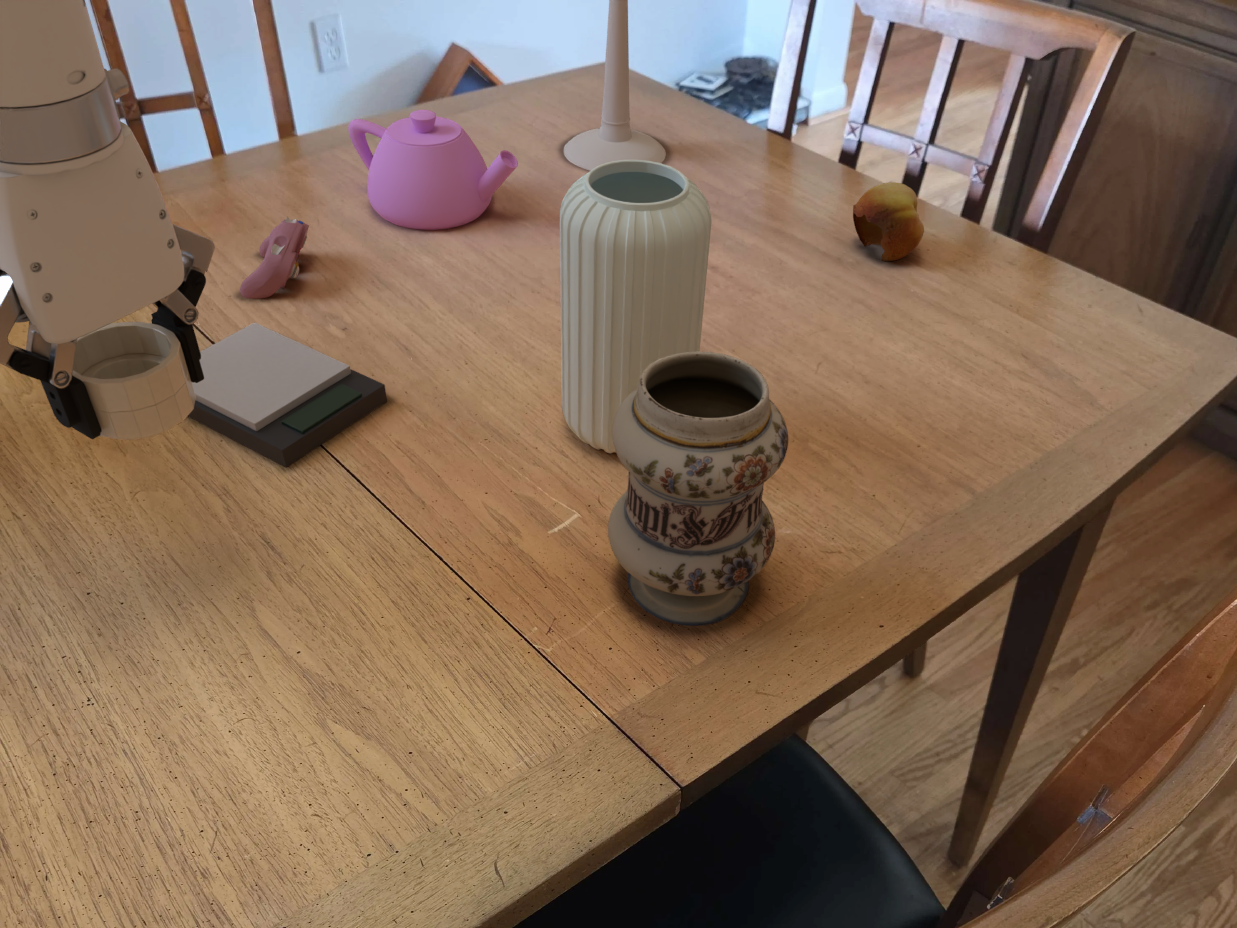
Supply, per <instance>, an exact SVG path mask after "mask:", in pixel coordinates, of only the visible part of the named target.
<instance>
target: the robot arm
mask: <svg viewBox="0 0 1237 928" xmlns="http://www.w3.org/2000/svg"><path fill="white" fill-rule="evenodd" d="M86 3H87V2H86V0H0V365H2V366H4V367H6V368H7V369H8V368H9V369H10V370H13V371H15V372H16V373H18V374H21V375H24V376H27V377H29V378H32V379H35V380H38V381H40V383H41V386H42V388H43V391H44V393H45V397H46V399H47V401H48V404H49V407H50V408H51V411H52V414H53V416H54V417H55V419H56V420H57V421H58V422H59V424H60V425H62V426H63V427H66V428H68V429H71V428H72V429H73V430H75V431H77V432H79V433H80V434H82V435H84V436H85V437H87V438H89V439H90V440H95V439H97V438H98V437H101V436H100V433H101V432H102V430H101V427H100V424H99V422H98V419H97V416H96V413H95V411H94V408H93V405H92V403H91V400H90V397H89V394H88V392H87V389H86V386H85V384H84V383H83V382H82V381H81V380H80V379H78V378H76V377H74V376H73V375H72V373H73V366H74V359H75V352H76V344H77V339H78V338H80V337H82V336H85V335H87V334H89V333H91V332H93V331H95V330H98V329H100V328H102V327H104V326H106V325H108V324H111V323H116V322H117V321H118V320H121V319H123V318H126V317H128V316H130V315H131V314H134V313H136V312H138V311H140V310H142V309H145V308H146V307H148V306H150V305H152V306H153V307H155V308H156V311H154V312H153V313H150V316H151V319H150V321H151V324H157V325H160V326H162V327H164V328H166V329H168V330H170V331H172V332H173V333H174V334H175V335H176V337H177V339H178V340H179V342H180V344H181V347H182V351H183V354H184V358H185V361H186V365H187V368H188V372H189V375H190V379H191V382H195V383H198V382H200V381H202V380H204V375H203V371H202V367H201V364H200V359H201V354H200V351H201V350H200V347H199V343H198V338H197V336H196V332H195V328H194V325H193V324H195V323H196V322H197V320H198V318H199V310H198V309H197V305H198V303H199V301H200V298H201V296H202V293H203V292H204V289H205V286H206V283H207V278H206V276H205V274H206V273H208V270H209V267H210V264H211V261H212V258H213V255H214V252H215V249H216V246H215V243H214V241H213V240H212V239H209V238H207V237H205V236H203V235H201V234H198V233H196V232H193V231H191V230H189V229H186V228H184V227H181V226H179V225H176V224H174V223H173V221H172V218H171V215H170V213H169V210H168V207H167V204H166V201H165V199H164V196H163V194H162V191H161V188H160V185H159V184H158V181H157V179H156V176H155V175H154V172H153V170H152V168H151V165H150V164H149V163H150V162H149V161H148V159H147V157H146V155H145V153H144V151H143V149H142V147H141V145H140V143H139V141H138V140H137V138H136V136H135V134H134V132H133V131H132V129H131V127H130V126H129V125H128V124H127V123H124V122H122V121H121V120H120V119H121V115H120V111H119V107H118V104H117V101H118V100H119V99H120V97H122V96H125V95H127V94H129V93H130V84H129V81H128V79H127V77H126V75H125V74H124V73H123V71H122V70H120V69H119V68H112V69H109V70H107V68H105V65H104V63H103V59H102V57H101V53H100V49H99V45H98V42H97V39H96V35H95V32H94V28H93V24H92V20H91V17H90V15H89V10H88V7H87V4H86ZM27 322H28V328H27V329H28V330H27V335H26V336H27V338H26V343H25V344H26V345H25V348H22V347H19V346H16V345H14V344H11V343H10V342H9V335H10V333H11V331H12V329H13V327H14V326H15V324H18V323H19V324H21V323H27Z"/></svg>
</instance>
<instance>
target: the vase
mask: <svg viewBox="0 0 1237 928" xmlns="http://www.w3.org/2000/svg"><path fill="white" fill-rule="evenodd" d="M559 207H560V208H559V269H560V270H559V271H560V272H559V275H560V281H559V284H560V285H559V286H560V287H559V288H560V362H561V363H560V365H561V366H560V370H561V371H560V372H561V374H560V375H561V377H560V378H561V379H560V380H561V382H560V383H561V411H562V415H563V418H564V420H565V422H566V424H567V426H568V428H569V429H570V430H571V432H572V433H573V434H574V435H576V436H577V438H578V439H579V440H580V441H582V442H583V443H585V444H587V445H590V447H592V448H594V449H596V450H598V451H599V450H603V451H604V452H605V453H606V454H613V453H616V451H615V448H614V444H613V439H612V425H613V420H614V417H615V414H616V412H617V410H618V409H619V407H620V405H621V404H622V403H623V401H624V400H625V399H626V398H627V397H628V396H629V395H630V394H631V393H632V392H634V391H635V390H636V389H638V384H639V380H640V377H641V375H642V373H643V371H644V370H645V369H646V368H647V367H648V366H649V365H650V364H652V363H653V362H655V361H657V360H658V359H661V358H664V357H666V356H670V355H674V354H679V353H685V352H701V351H700V350H701V341H702V340H701V339H702V328H703V320H704V319H703V318H704V306H705V296H706V285H707V274H708V264H709V254H710V243H711V232H712V212H711V208H710V207H711V206H710V204H709V201H708V199H707V198H706V196H705V195H704V193H703V191H701V190H700V187H698V185H697V184H695V182H693V180H691V179H689V178H687V176H686V175H685V174H684V173H683V172H682V171H680V170H678V169H677V168H675V167H673V166H670V165H669V164H665V163H663V162H662V163H658V162H653V161H646V160H619V161H612V162H608V163H605V164H602V165H599V166H597V167H595V168H594V169H592V170H591V171H590V170H589V172H586V173H584V174H583V175H582V176H581V177H579V178H578V179H577V180H576V181H575V182H573V183H572V184H571V186H570V187H569V188H568V190H567V191H566V193H565V195H564V196H563V199H562V201H561V203H560V206H559ZM616 454H617V453H616Z"/></svg>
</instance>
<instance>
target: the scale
mask: <svg viewBox="0 0 1237 928" xmlns="http://www.w3.org/2000/svg"><path fill="white" fill-rule="evenodd" d="M200 354H201V359H200V364H201V367H202V371H203V375H204V380H202V381H200V382H198V383H195V382H192V386H193V389H194V393H195V396H196V398H195V404H194V409H193V410H192V412H191V413H190V414H189V415H188V416H187V417H188V418H190V419H192V420H194V421H196V422H198V423H199V424H201V425H204V426H205V427H207V428H209V429H211V430H213V431H215V432H217V433H219V434H220V435H222V436H225V437H226V438H228V439H231V440H233V441H234V442H236V443H238V444H240V445H242V446H244V447H246V448H248V449H250V450H252V451H254V452H256V453H257V454H260V455H261V456H263V457H265V458H267V459H269V460H271V461H273V462H275V463H277V464H279V465H280V466H283V467H284V468H288V467H289V466H291V465H293V464H294V463H296V462H297V461H299V460H300V459H302V458H304V457H306V456H307V455H308V454H309V453H311V452H313V451H314V450H316V449H318V447H320V446H322V445H323V444H324V443H326V442H328V441H329V440H331V439H333V438H334V437H336V436H337V435H338V434H340V433H342V432H343V431H344V430H346V429H347V428H350V427H351V426H353V425H354V424H355V423H357V422H358V421H360V420H361V419H363V418H365V417H366V416H368V415H369V414H370V413H372V412H374V411H376V410H377V409H378V408H379V407H381V406H383V405H384V404H386V403H387V402H388V398H387V397H388V396H387V392H386V391H387V390H386V385H385V384H384V383H382V382H380V381H378V380H376V379H373V378H371V377H370V376H367V375H365V374H363V373H360V372H358V371H356V370H354V369H352V368H351V365H349V364H347V363H346V362H342V361H341V360H338V359H336V358H334V357H331V356H329V355H328V354H325V353H323V352H321V351H318V350H316V349H314V348H313V347H310V346H308V345H306V344H303V343H301V342H300V341H297V340H295V339H292V338H290V337H288V336H285V335H284V334H281V333H279V332H277V331H275V330H273V329H271V328H268V327H267V326H263V325H262V324H259V323H258V322H253V323H251V324H249V325H246V326H245V327H242V328H241V329H239V330H237V331H236V332H234V333H232V334H230V335H228V336H226V337H224V338H223V339H221V340H219V341H217V342H215V343H213V344H212V345H209V346H208V347H206V348H204V349H202V350H200Z"/></svg>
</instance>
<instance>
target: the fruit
mask: <svg viewBox="0 0 1237 928" xmlns="http://www.w3.org/2000/svg"><path fill="white" fill-rule="evenodd" d="M852 220H853V224H854V229H855V231H856V234H857V236H858V239H859V241H860V242H861V244H862V245H863V246H864V247H866V246H872V245H879V246H880V247H881V248H882V249H883V251H884V252H883V253H882V255H881V259H880V258H876V257H875V259H876V260H878V261H883V262H892V261H898V260H901V259H903V258H906V256H908V255H909V254H911V253H912V252H913V251H915V249H916V248H917V247H918V246H919V244H920V242H921V241H922V238H923V236H924V232H925V225H924V224H923V222H922V220H921V219H920V216H919V214H918V197H917V193H916V192H915V191H914V189H912V188H911V187H909V186H908V185H906V184H904V183H902V182H895V181H889V182H883V183H880V184H877V185H874V186H873V187H871V188H869V189H868V190H867V191H865V192H864V194H862V195H861V196H860V197H859V199H858V201H857V202H856V203H855V204H853V207H852Z"/></svg>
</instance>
